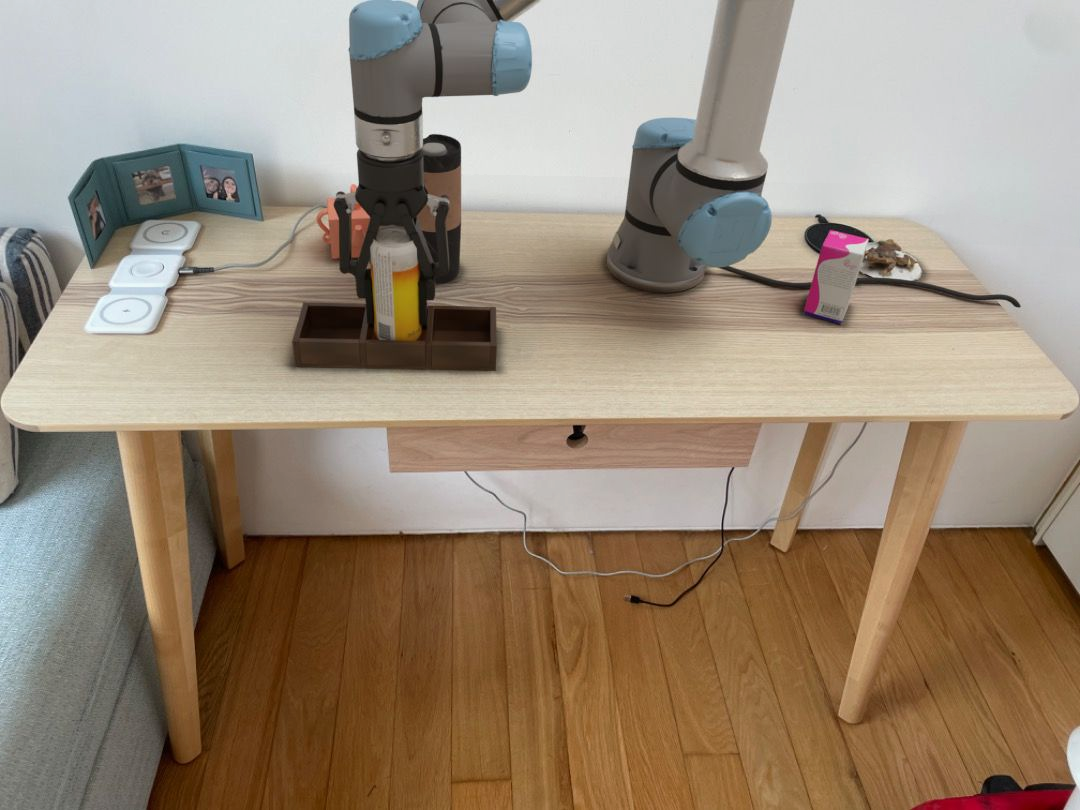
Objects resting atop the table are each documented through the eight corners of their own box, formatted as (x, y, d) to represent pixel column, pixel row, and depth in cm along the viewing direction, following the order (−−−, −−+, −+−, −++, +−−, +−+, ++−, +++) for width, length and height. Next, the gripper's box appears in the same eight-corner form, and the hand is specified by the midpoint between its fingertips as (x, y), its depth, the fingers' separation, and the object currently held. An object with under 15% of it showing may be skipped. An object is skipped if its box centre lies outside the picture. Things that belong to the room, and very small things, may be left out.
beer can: (429, 330, 121) (427, 229, 111) (409, 354, 116) (405, 251, 107) (388, 319, 122) (382, 219, 113) (366, 343, 118) (359, 240, 108)
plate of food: (895, 291, 140) (903, 270, 137) (832, 258, 147) (838, 237, 144) (936, 270, 146) (944, 249, 143) (873, 239, 153) (880, 219, 150)
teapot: (321, 276, 133) (315, 225, 128) (318, 227, 144) (313, 179, 139) (402, 271, 135) (400, 221, 130) (393, 224, 147) (391, 176, 141)
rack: (495, 331, 125) (496, 306, 122) (495, 370, 118) (496, 345, 115) (306, 326, 123) (303, 302, 120) (295, 367, 116) (291, 341, 113)
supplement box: (848, 306, 136) (870, 238, 128) (841, 325, 131) (863, 256, 124) (810, 295, 137) (830, 227, 130) (801, 314, 133) (821, 245, 126)
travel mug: (452, 288, 133) (453, 159, 120) (403, 280, 134) (397, 151, 121) (466, 263, 139) (468, 137, 126) (418, 255, 140) (415, 130, 127)
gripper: (299, 159, 99) (319, 333, 114) (473, 166, 101) (470, 336, 115) (309, 132, 105) (327, 300, 120) (473, 138, 106) (471, 304, 121)
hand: (397, 318), depth 117 cm, fingers closed on beer can, 6 cm apart
